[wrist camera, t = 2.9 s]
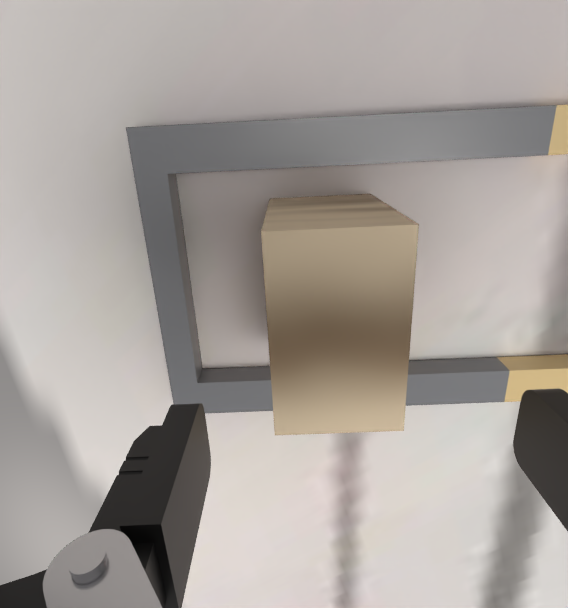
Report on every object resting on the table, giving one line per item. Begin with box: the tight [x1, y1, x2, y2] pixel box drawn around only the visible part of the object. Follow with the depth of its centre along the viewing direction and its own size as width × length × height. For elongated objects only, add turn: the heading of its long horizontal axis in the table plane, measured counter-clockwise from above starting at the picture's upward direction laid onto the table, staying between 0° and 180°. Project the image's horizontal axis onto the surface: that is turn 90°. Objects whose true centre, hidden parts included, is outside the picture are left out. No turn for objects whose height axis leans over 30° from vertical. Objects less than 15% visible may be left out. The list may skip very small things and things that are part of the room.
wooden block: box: [261, 194, 419, 435], centre depth 18 cm, size 8×5×8 cm, turn 3°
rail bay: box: [126, 105, 568, 413], centre depth 21 cm, size 15×28×2 cm, turn 93°
